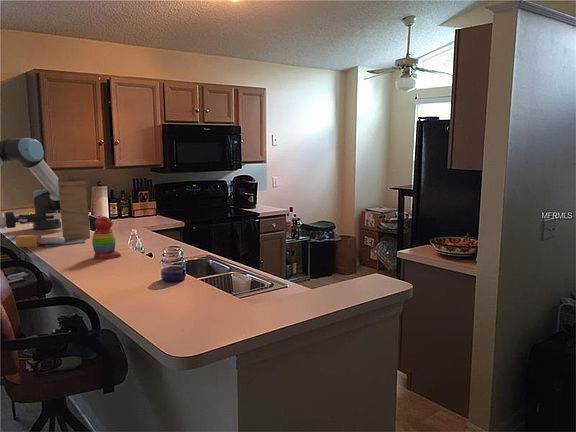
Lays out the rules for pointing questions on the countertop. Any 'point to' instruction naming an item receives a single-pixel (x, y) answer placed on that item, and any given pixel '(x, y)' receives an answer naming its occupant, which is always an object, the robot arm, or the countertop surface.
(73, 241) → the mat
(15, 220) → the robot arm
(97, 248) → the stacking bear
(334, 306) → the countertop surface
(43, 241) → the screwdriver
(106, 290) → the countertop surface
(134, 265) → the countertop surface
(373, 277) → the countertop surface
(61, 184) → the stand
